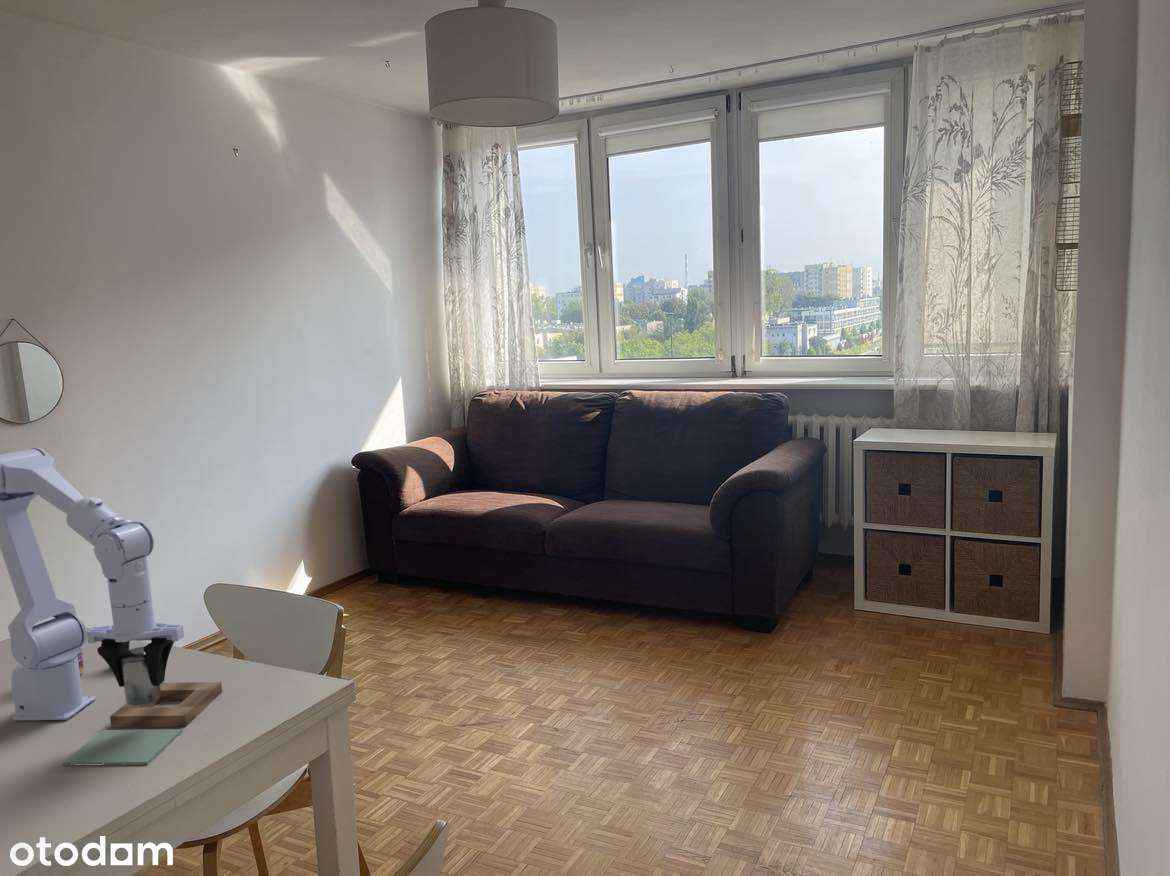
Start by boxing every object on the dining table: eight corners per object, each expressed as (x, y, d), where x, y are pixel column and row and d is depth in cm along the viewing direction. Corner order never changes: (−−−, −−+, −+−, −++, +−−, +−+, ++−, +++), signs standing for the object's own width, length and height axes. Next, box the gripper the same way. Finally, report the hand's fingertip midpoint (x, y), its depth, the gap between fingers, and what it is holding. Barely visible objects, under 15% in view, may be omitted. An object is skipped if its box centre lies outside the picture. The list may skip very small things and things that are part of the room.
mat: (62, 765, 130) (62, 762, 130) (102, 732, 140) (102, 730, 140) (147, 764, 129) (147, 762, 129) (182, 731, 139) (182, 729, 139)
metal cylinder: (119, 705, 138) (113, 659, 137) (137, 691, 143) (131, 646, 142) (150, 705, 138) (144, 658, 136) (167, 690, 143) (161, 646, 141)
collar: (111, 726, 142) (109, 716, 141) (153, 692, 154) (151, 683, 154) (186, 726, 141) (185, 715, 141) (222, 691, 153) (221, 681, 153)
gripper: (70, 611, 134) (82, 695, 136) (163, 609, 133) (173, 694, 135) (98, 595, 141) (108, 676, 143) (186, 593, 140) (195, 674, 142)
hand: (141, 683), depth 140 cm, fingers closed on metal cylinder, 5 cm apart
